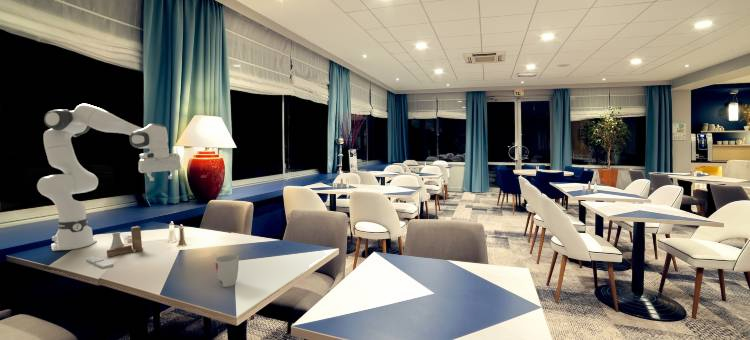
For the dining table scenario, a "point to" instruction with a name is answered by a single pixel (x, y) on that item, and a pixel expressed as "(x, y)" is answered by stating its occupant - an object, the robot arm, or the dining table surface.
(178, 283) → the dining table surface
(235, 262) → the cup
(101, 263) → the broken grey strip
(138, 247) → the brown wooden l-shaped piece
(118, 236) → the flask
